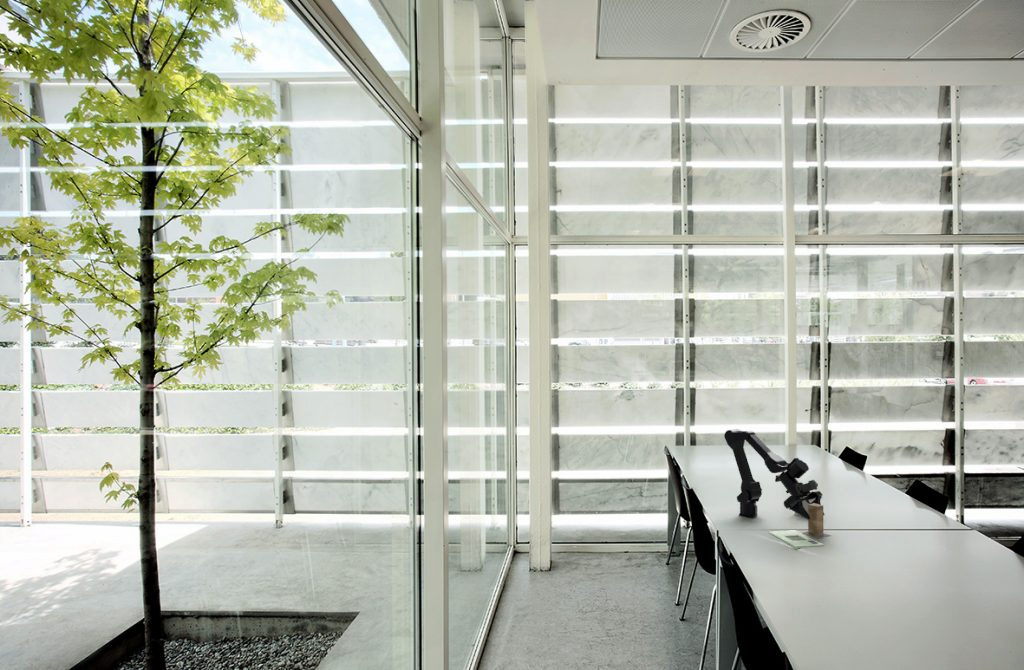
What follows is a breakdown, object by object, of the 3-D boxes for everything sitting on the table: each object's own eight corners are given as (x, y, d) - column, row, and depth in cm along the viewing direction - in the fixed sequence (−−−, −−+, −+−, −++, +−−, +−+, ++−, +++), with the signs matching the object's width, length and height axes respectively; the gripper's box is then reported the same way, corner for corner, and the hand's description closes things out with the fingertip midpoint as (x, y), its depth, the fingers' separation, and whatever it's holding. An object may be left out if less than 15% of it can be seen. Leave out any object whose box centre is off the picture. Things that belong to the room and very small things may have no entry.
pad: (800, 534, 248) (800, 533, 248) (812, 531, 252) (812, 530, 252) (818, 540, 241) (818, 538, 241) (831, 537, 245) (831, 535, 245)
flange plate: (768, 534, 249) (768, 531, 249) (795, 532, 251) (795, 529, 251) (795, 549, 232) (795, 545, 232) (824, 547, 234) (824, 544, 234)
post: (808, 533, 248) (808, 504, 248) (814, 532, 250) (814, 503, 250) (817, 536, 244) (817, 506, 244) (823, 535, 246) (823, 505, 246)
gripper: (789, 476, 247) (815, 509, 237) (817, 471, 256) (843, 503, 246) (773, 491, 253) (797, 524, 244) (801, 486, 263) (825, 518, 253)
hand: (816, 517), depth 246 cm, fingers open, 9 cm apart
